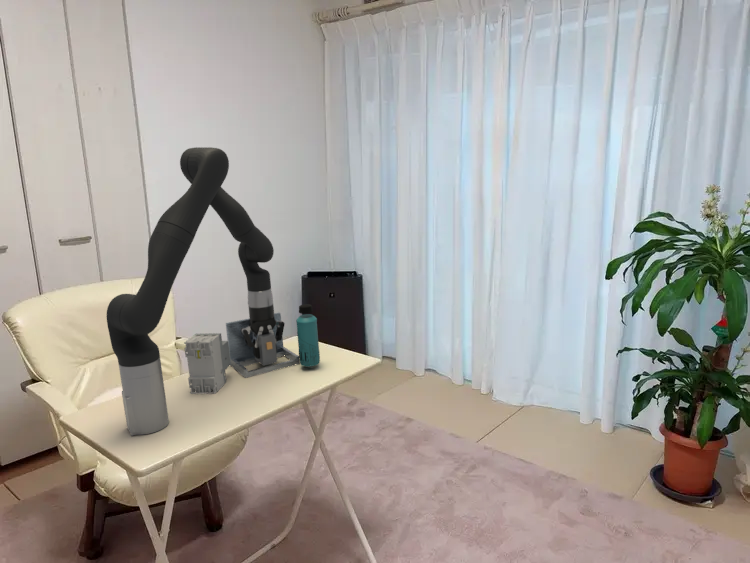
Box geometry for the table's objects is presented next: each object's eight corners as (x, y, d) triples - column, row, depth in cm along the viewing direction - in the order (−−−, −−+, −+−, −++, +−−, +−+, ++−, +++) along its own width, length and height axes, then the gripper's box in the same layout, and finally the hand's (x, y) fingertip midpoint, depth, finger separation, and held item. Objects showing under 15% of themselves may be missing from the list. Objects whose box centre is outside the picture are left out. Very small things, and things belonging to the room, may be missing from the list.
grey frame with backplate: (245, 377, 162) (240, 333, 159) (230, 365, 173) (225, 323, 170) (299, 363, 171) (296, 321, 168) (282, 352, 182) (279, 312, 179)
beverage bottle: (323, 363, 170) (318, 302, 166) (317, 371, 164) (313, 307, 160) (302, 363, 171) (298, 302, 167) (296, 371, 165) (291, 308, 161)
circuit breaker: (233, 373, 165) (228, 326, 162) (215, 393, 151) (209, 342, 148) (210, 374, 166) (204, 327, 163) (190, 393, 152) (183, 342, 149)
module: (264, 366, 166) (261, 338, 164) (255, 359, 172) (252, 332, 170) (278, 362, 168) (275, 335, 166) (268, 356, 174) (266, 329, 172)
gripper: (242, 310, 159) (248, 365, 163) (287, 301, 167) (291, 354, 171) (234, 305, 166) (239, 358, 169) (277, 297, 173) (281, 348, 177)
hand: (265, 355), depth 170 cm, fingers closed on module, 4 cm apart
